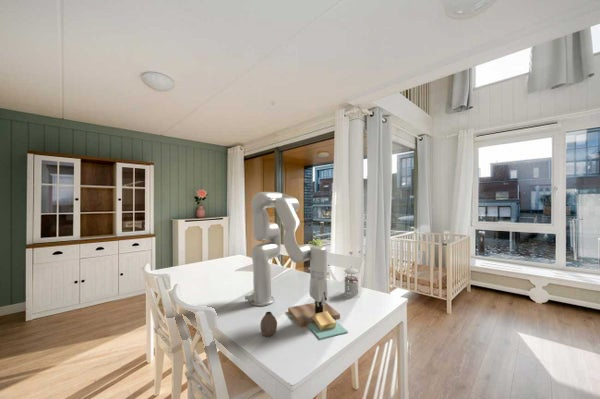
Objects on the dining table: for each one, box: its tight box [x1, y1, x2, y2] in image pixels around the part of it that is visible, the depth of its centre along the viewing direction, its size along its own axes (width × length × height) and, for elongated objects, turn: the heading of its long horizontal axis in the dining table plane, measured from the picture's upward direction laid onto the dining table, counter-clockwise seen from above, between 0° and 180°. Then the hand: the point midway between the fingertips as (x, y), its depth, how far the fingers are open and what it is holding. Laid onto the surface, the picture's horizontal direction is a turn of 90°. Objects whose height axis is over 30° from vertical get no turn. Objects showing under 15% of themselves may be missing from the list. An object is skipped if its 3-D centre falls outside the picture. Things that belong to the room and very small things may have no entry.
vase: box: [259, 311, 278, 337], centre depth 102 cm, size 7×7×9 cm
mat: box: [307, 319, 349, 341], centre depth 106 cm, size 13×12×1 cm
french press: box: [342, 251, 361, 299], centre depth 144 cm, size 10×12×25 cm
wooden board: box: [287, 301, 341, 328], centre depth 119 cm, size 20×16×2 cm
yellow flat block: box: [313, 311, 336, 331], centre depth 108 cm, size 7×8×2 cm
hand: (319, 313), depth 113 cm, fingers closed
